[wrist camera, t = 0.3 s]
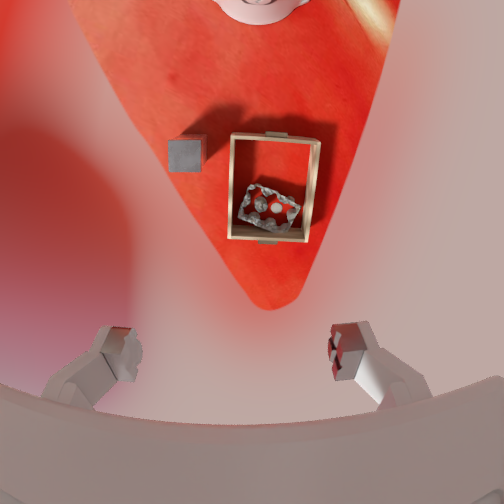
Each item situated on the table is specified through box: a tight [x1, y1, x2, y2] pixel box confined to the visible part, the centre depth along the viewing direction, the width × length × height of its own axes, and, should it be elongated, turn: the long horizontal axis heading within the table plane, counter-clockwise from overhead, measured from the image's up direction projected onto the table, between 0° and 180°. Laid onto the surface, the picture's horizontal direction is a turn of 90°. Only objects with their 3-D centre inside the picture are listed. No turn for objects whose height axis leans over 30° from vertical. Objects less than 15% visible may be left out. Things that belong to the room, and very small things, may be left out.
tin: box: [168, 134, 207, 172], centre depth 48 cm, size 5×5×8 cm
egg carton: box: [238, 183, 301, 233], centre depth 56 cm, size 11×8×4 cm
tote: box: [228, 131, 321, 244], centre depth 53 cm, size 21×15×5 cm
